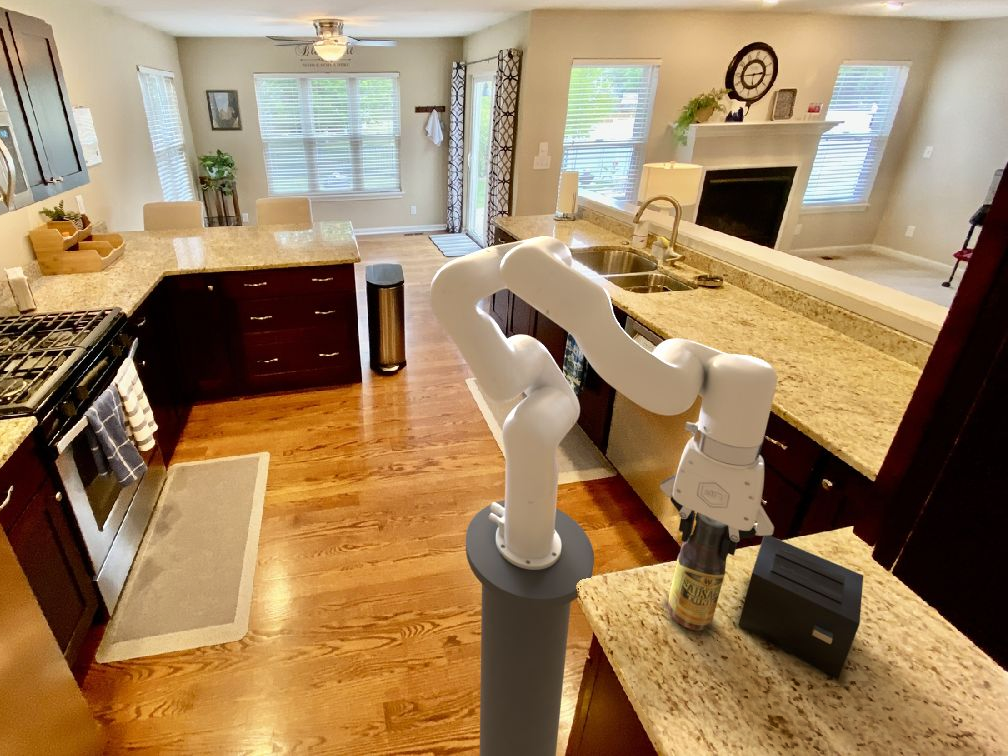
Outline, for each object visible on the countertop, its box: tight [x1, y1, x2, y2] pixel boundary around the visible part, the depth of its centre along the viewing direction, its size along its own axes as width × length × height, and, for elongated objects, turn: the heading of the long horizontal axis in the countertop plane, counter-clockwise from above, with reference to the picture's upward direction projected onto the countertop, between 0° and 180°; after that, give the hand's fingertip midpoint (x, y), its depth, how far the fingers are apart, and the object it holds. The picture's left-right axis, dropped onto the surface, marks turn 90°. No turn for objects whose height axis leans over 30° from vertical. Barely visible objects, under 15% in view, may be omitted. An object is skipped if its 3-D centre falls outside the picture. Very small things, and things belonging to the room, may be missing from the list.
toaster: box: [737, 535, 864, 681], centre depth 73 cm, size 12×11×11 cm
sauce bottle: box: [667, 512, 728, 631], centre depth 74 cm, size 6×6×20 cm
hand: (705, 544), depth 73 cm, fingers closed on sauce bottle, 4 cm apart
